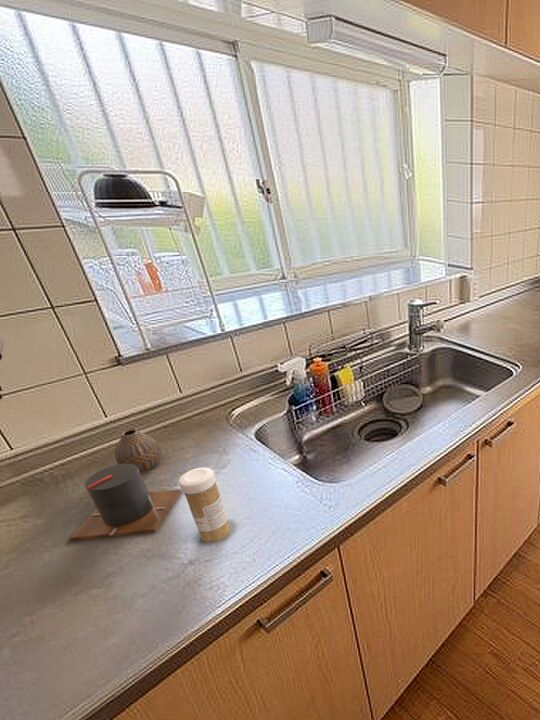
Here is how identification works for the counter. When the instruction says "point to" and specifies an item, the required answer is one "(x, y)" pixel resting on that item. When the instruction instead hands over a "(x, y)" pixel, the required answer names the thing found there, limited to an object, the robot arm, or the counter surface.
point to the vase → (137, 450)
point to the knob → (119, 494)
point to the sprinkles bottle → (205, 504)
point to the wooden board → (147, 523)
